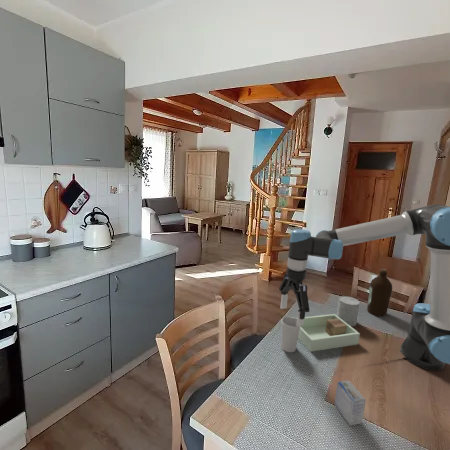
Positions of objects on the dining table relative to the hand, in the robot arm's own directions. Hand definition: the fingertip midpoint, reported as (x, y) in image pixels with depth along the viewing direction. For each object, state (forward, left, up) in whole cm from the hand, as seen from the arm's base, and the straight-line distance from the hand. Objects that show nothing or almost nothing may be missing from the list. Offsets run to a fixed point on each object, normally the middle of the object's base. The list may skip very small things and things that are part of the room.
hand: (291, 316), depth 115 cm
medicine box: (-34, -2, -15) cm, 37 cm away
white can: (+12, -39, -15) cm, 43 cm away
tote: (+3, -19, -14) cm, 24 cm away
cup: (0, 0, -15) cm, 15 cm away
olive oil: (+18, -64, -15) cm, 68 cm away
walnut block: (+3, -26, -14) cm, 29 cm away
